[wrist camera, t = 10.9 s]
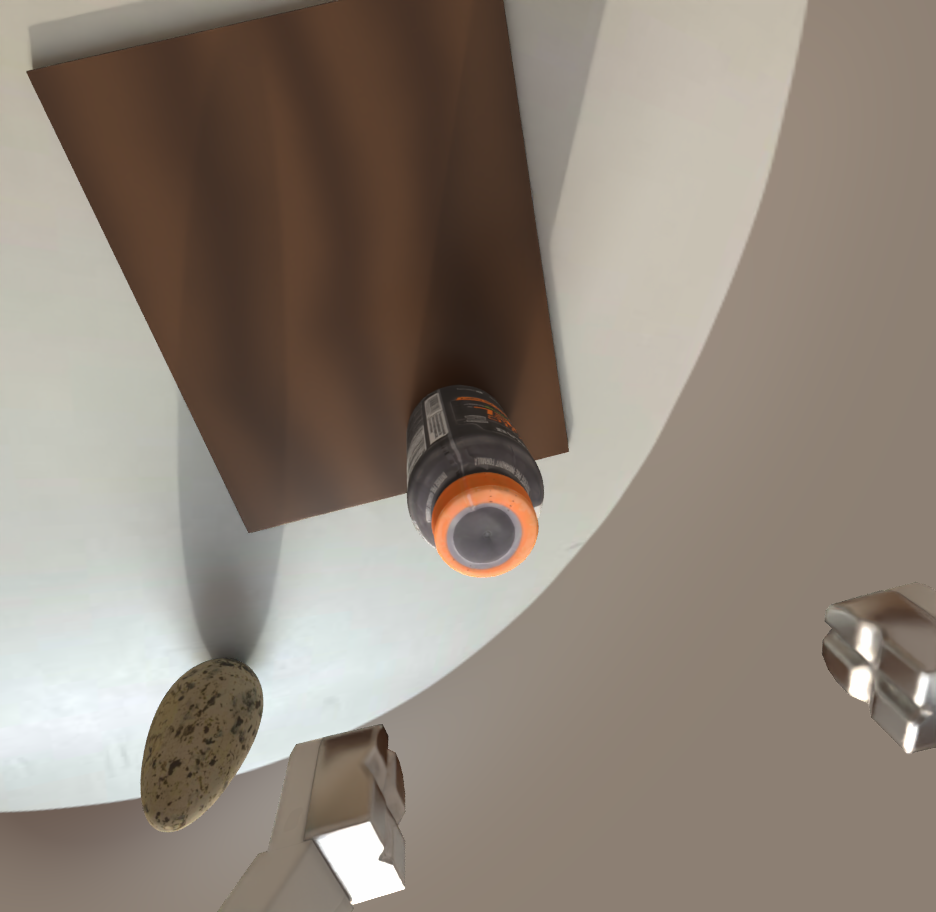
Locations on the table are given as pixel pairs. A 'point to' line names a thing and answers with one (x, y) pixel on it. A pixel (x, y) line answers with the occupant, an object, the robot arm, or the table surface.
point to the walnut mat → (322, 234)
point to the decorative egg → (198, 741)
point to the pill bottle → (471, 482)
